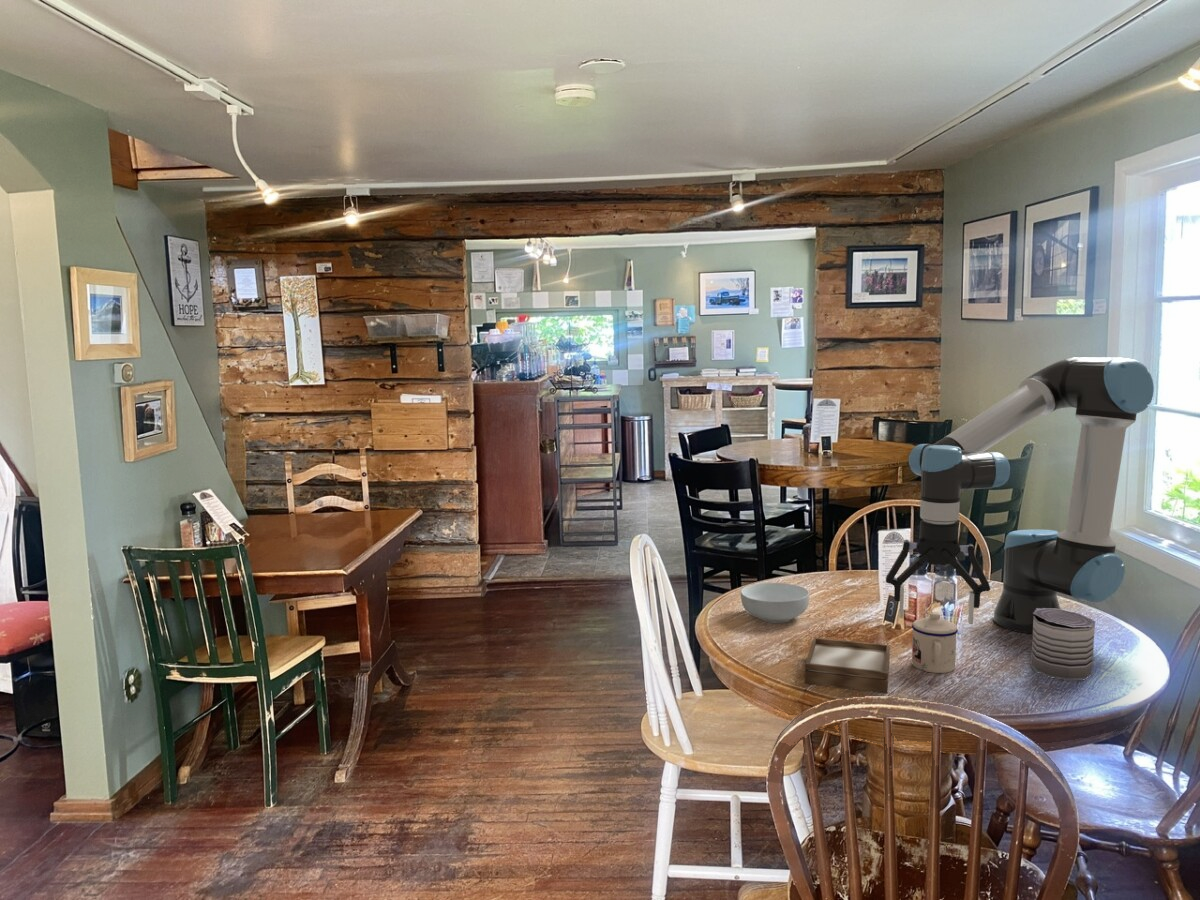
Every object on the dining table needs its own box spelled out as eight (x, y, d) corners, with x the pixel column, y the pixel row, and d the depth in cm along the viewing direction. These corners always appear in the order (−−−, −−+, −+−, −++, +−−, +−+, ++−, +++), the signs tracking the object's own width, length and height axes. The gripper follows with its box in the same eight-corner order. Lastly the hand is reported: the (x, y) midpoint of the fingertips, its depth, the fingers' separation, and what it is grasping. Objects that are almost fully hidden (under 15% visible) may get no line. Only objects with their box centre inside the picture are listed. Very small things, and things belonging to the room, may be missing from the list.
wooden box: (889, 663, 185) (889, 645, 184) (887, 693, 170) (887, 672, 169) (813, 655, 190) (813, 637, 190) (804, 683, 175) (805, 663, 175)
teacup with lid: (909, 656, 189) (910, 605, 187) (953, 659, 186) (955, 608, 185) (913, 677, 177) (915, 623, 176) (960, 681, 175) (963, 626, 173)
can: (1032, 656, 188) (1035, 603, 186) (1092, 665, 182) (1096, 611, 180) (1028, 674, 178) (1031, 618, 176) (1091, 685, 172) (1095, 627, 170)
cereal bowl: (785, 604, 226) (785, 578, 226) (822, 623, 211) (823, 596, 210) (728, 612, 221) (728, 586, 220) (762, 633, 205) (762, 604, 204)
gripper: (1003, 520, 177) (998, 619, 180) (876, 513, 185) (874, 608, 188) (1007, 527, 170) (1002, 630, 173) (875, 520, 178) (872, 618, 181)
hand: (935, 619), depth 180 cm, fingers open, 13 cm apart
